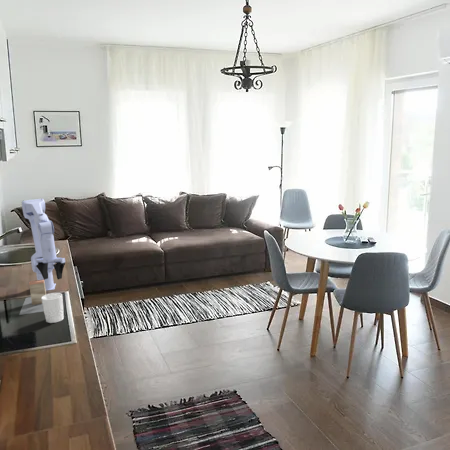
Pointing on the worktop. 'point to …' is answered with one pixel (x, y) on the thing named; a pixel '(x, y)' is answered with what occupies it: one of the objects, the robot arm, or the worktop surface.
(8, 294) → the worktop surface
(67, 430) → the worktop surface
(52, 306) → the white cup
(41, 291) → the birch slab
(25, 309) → the rubber mat
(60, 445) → the worktop surface
